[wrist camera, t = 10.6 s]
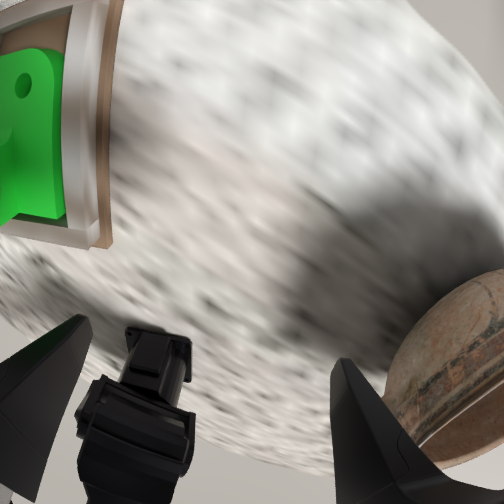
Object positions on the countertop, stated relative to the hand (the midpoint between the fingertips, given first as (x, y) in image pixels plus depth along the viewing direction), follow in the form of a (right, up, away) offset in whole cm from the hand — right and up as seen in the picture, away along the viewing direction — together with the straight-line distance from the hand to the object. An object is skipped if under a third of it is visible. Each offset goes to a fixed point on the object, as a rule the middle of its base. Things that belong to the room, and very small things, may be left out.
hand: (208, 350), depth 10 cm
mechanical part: (-14, +12, +7) cm, 20 cm away
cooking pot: (+21, -3, +15) cm, 26 cm away
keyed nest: (-14, +13, +7) cm, 21 cm away
